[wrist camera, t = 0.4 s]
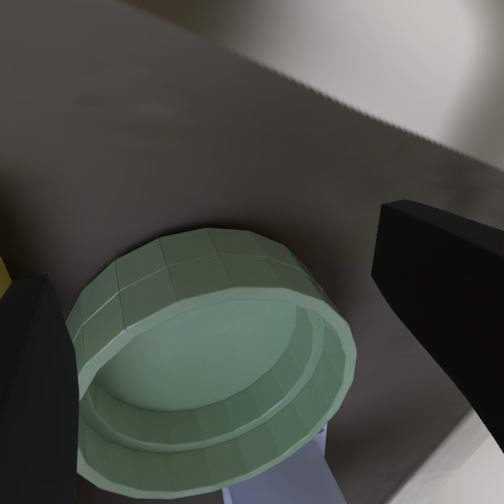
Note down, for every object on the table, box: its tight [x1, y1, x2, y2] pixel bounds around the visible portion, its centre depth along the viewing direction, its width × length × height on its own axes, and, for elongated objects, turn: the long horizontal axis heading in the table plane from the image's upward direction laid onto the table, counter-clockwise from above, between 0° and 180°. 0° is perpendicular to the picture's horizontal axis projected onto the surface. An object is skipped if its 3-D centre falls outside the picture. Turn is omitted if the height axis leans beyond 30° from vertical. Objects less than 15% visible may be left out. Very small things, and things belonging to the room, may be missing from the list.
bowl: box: [65, 228, 357, 499], centre depth 22 cm, size 13×13×5 cm
